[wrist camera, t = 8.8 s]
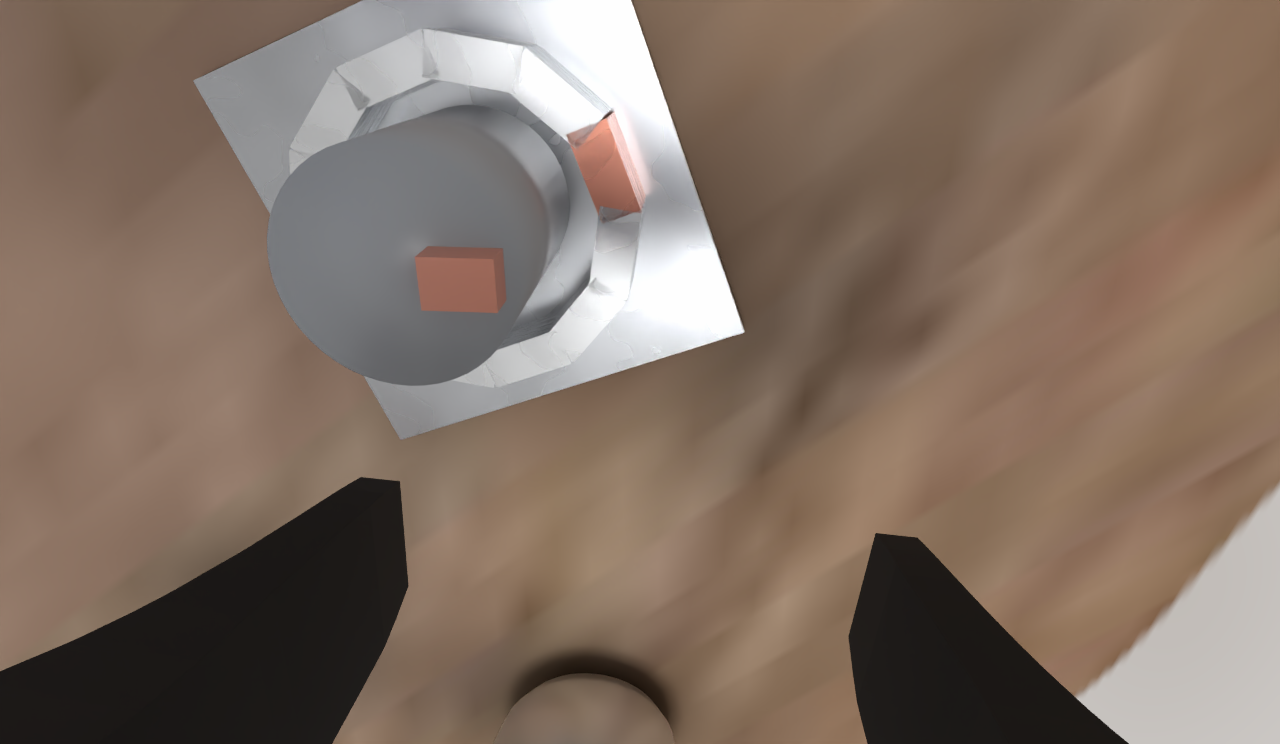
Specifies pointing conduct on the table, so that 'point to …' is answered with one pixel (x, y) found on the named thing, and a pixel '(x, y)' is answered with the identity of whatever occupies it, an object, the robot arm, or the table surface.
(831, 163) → the table surface
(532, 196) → the grey cylinder
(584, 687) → the plastic bottle
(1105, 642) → the table surface
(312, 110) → the duct collar
